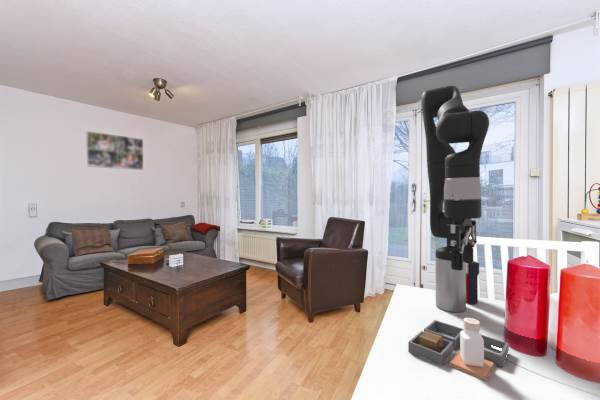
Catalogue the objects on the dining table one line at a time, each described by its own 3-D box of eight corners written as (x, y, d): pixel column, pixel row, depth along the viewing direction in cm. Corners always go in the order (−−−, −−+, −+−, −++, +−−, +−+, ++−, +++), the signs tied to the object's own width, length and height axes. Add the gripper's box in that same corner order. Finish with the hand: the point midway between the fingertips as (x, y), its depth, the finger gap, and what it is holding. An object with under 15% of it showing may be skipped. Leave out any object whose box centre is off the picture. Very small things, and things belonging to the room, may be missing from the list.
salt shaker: (484, 369, 58) (484, 325, 58) (464, 365, 60) (463, 323, 60) (479, 358, 62) (478, 318, 62) (459, 355, 63) (459, 315, 63)
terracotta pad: (459, 353, 66) (459, 350, 66) (493, 366, 60) (493, 362, 60) (449, 365, 61) (449, 362, 61) (485, 380, 56) (485, 377, 56)
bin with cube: (421, 340, 72) (421, 330, 72) (453, 352, 66) (453, 342, 66) (408, 351, 67) (408, 341, 67) (441, 365, 61) (441, 355, 61)
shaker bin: (472, 340, 71) (472, 331, 71) (508, 353, 65) (508, 343, 65) (462, 352, 66) (462, 342, 66) (501, 367, 60) (501, 356, 60)
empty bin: (435, 328, 78) (434, 319, 78) (465, 338, 72) (465, 329, 72) (423, 338, 73) (423, 329, 73) (455, 349, 67) (455, 339, 67)
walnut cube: (425, 346, 69) (425, 330, 69) (442, 352, 66) (442, 336, 66) (419, 352, 66) (419, 336, 66) (436, 359, 64) (436, 342, 63)
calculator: (450, 293, 106) (450, 256, 106) (461, 293, 106) (461, 256, 106) (467, 304, 95) (467, 262, 95) (479, 304, 95) (479, 262, 95)
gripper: (454, 197, 70) (454, 258, 70) (433, 198, 60) (434, 269, 61) (488, 196, 65) (488, 262, 65) (472, 198, 55) (472, 276, 55)
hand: (462, 265), depth 63 cm, fingers open, 8 cm apart
